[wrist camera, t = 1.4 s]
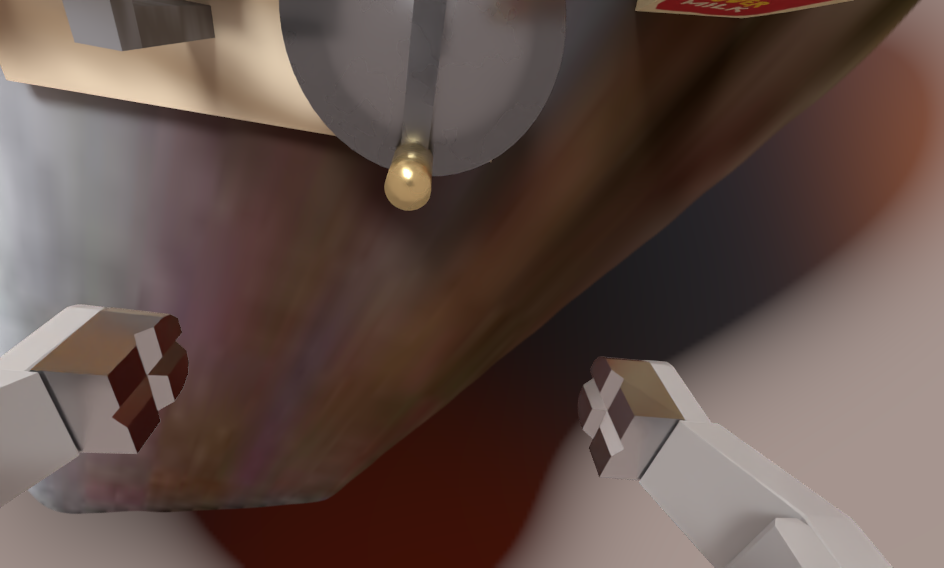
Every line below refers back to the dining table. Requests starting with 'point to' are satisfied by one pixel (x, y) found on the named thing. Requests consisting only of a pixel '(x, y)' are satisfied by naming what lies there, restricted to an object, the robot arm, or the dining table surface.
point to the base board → (160, 55)
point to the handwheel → (425, 79)
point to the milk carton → (729, 6)
